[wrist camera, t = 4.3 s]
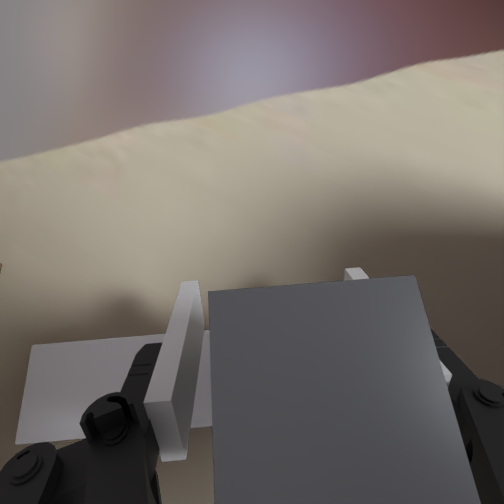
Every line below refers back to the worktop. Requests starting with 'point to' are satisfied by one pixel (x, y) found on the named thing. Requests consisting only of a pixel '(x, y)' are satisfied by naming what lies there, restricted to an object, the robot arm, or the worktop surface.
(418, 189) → the worktop surface
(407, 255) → the worktop surface
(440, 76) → the worktop surface
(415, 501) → the grey block with plate
